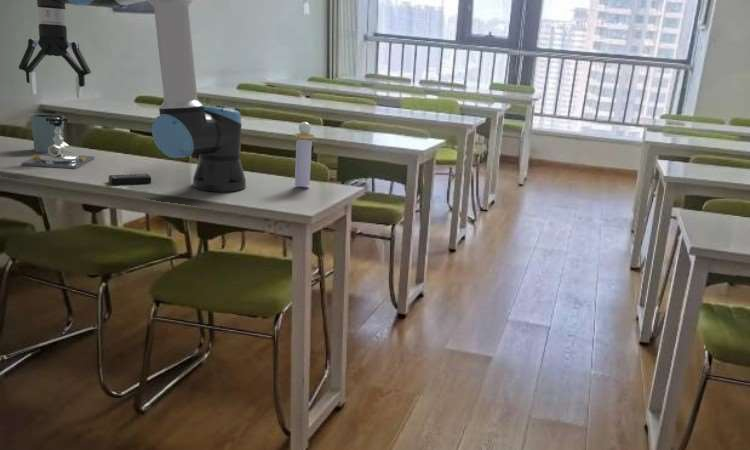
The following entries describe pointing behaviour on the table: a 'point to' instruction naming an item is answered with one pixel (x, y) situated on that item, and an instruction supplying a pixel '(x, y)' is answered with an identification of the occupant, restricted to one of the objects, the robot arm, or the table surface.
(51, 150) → the valve
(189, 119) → the robot arm
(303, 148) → the perfume bottle
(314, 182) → the table surface
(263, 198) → the table surface
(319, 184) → the table surface
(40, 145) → the blue-grey cup
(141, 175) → the multiport hub
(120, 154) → the table surface
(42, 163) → the lock plate
